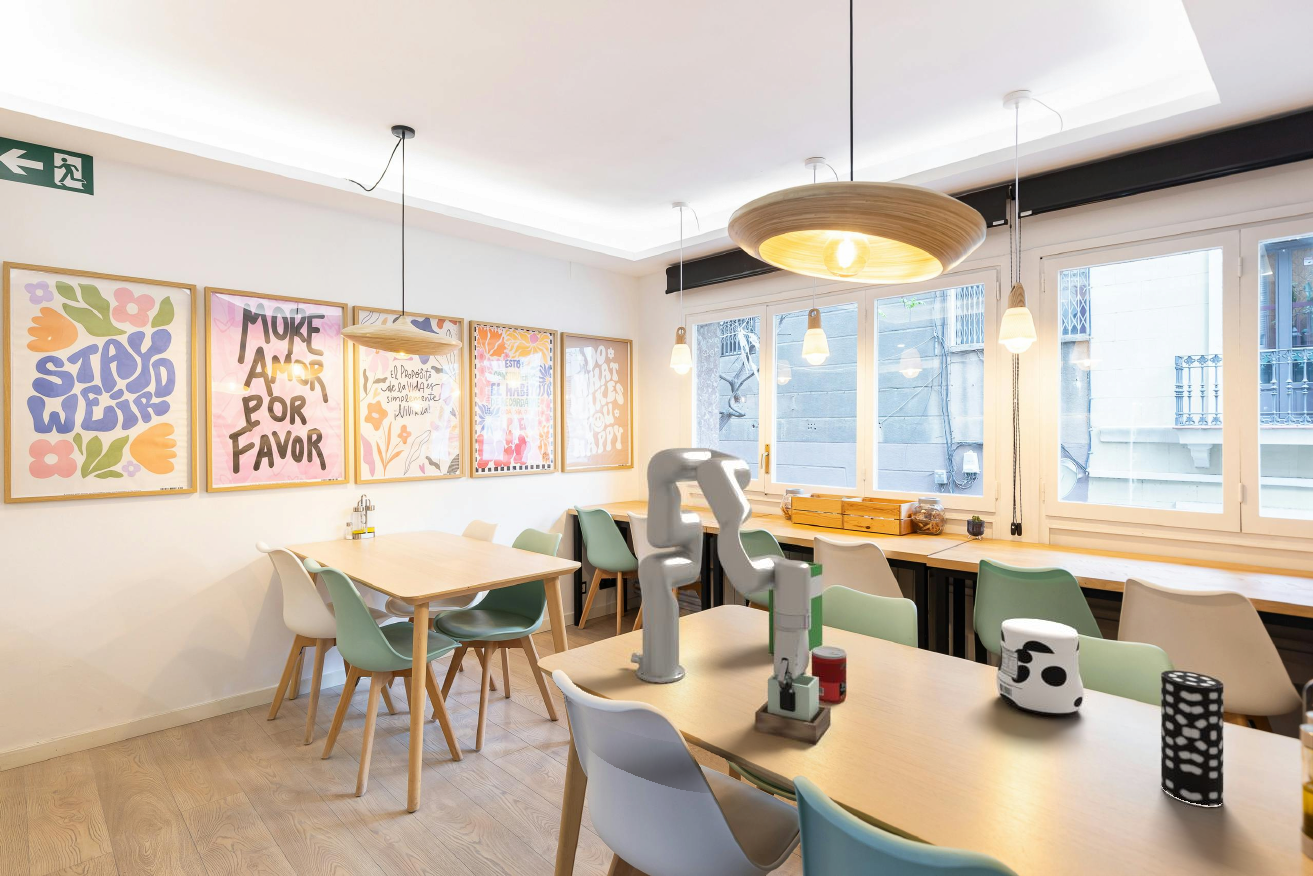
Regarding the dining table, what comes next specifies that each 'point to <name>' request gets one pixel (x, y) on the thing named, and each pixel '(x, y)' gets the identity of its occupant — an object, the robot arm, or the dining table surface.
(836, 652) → the canned food
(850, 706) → the dining table surface
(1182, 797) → the spotted tube
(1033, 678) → the milk container
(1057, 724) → the dining table surface
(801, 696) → the small crate
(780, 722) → the large crate
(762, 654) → the dining table surface
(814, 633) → the hardback book
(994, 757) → the dining table surface
